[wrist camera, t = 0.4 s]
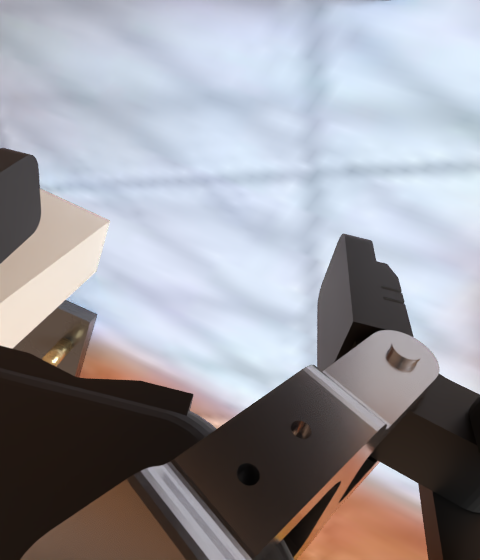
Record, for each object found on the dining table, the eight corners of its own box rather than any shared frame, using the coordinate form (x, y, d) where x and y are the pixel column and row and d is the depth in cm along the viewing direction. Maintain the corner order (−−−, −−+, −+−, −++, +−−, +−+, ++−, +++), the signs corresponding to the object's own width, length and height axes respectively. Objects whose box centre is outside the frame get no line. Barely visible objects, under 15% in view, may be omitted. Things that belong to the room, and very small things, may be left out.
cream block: (32, 184, 32) (-117, 251, 21) (110, 220, 32) (-1, 303, 21) (23, 238, 34) (-117, 321, 24) (96, 271, 34) (-11, 369, 24)
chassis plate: (-42, 251, 36) (-79, 271, 32) (97, 314, 36) (73, 340, 33) (-52, 373, 42) (-84, 400, 39) (64, 426, 43) (42, 457, 39)
